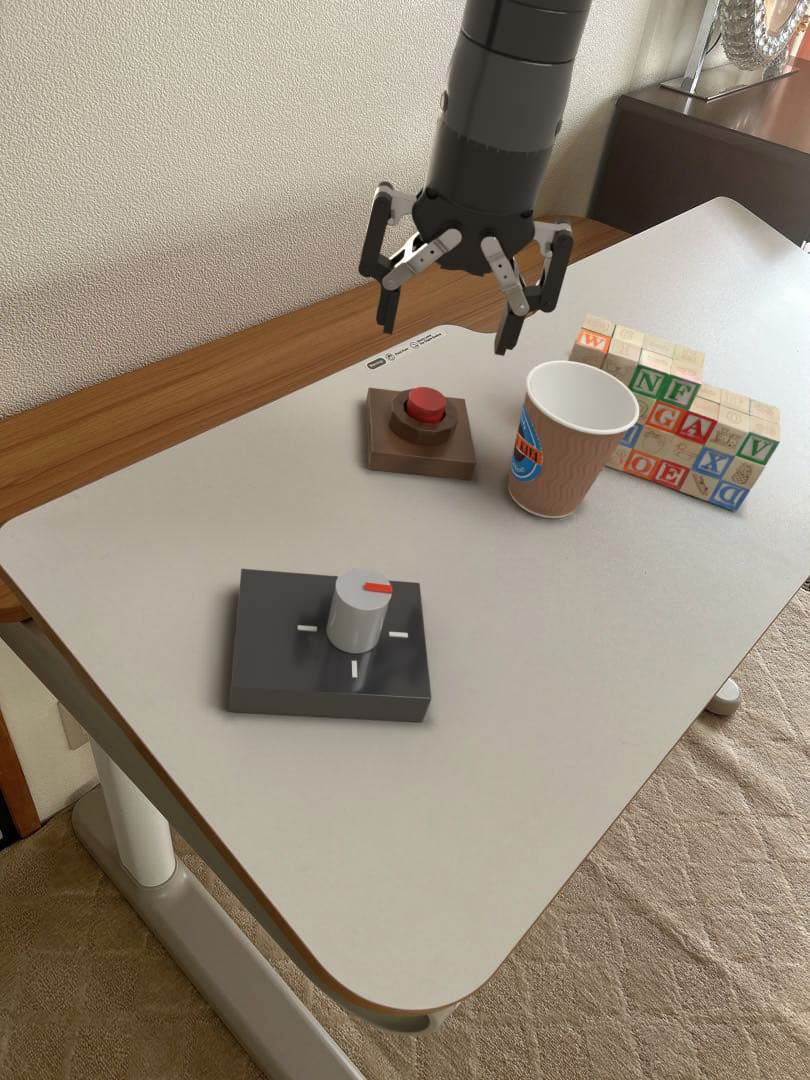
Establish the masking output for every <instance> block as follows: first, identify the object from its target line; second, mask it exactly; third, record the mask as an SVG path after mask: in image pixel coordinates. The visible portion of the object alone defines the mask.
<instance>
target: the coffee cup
mask: <svg viewBox="0 0 810 1080" xmlns="http://www.w3.org/2000/svg"><path fill="white" fill-rule="evenodd" d="M525 389H526V392H525V396H524V402H523V403H522V404H523V405H522V410H521V415H520V419H519V424H518V426H517V427H518V428H517V431H516V437H515V441H514V446H513V450H512V456H511V459H510V468H509V472H508V492H509V495H510V496H511V498H512V500H513V502H515V503H516V504H517V505H518V506H519V507H520V508H521V509H523V510H525V511H526V512H528V513H529V514H532V515H534V516H537V517H541V518H545V519H561V518H565V517H567V516H569V515H571V514H572V513H573V512H574V511H575V510H576V509H577V507H579V506H580V504H581V503H582V502H583V500H584V498H585V497H586V495H587V494H588V493H589V491H590V490H591V488H592V486H593V484H594V483H595V481H596V480H597V479H598V477H599V476H600V474H601V472H602V471H603V469H604V468H605V466H606V465H605V464H606V463H607V461H608V460H609V458H610V457H611V455H612V454H613V452H614V451H615V449H616V447H617V446H618V444H619V443H620V441H621V440H622V438H623V437H624V435H625V433H626V432H627V430H628V429H629V428H631V427H632V426H633V425H634V424H635V423H636V421H637V420H638V417H639V405H638V402H637V400H636V398H635V396H634V395H633V393H632V392H631V391H630V390H629V389H628V387H626V386H625V385H624V384H623V383H622V382H621V381H619V380H618V379H617V378H615V377H614V376H612V375H610V374H608V373H607V372H605V371H603V370H600V369H598V368H596V367H593V366H590V365H587V364H583V363H579V362H573V361H568V360H551V361H546V362H543V363H539V364H537V365H536V366H535V367H533V368H532V369H531V370H530V371H529V372H528V374H527V375H526V378H525ZM633 416H634V417H633Z"/></svg>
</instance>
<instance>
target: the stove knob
mask: <svg viewBox="0 0 810 1080" xmlns="http://www.w3.org/2000/svg"><path fill="white" fill-rule="evenodd" d="M337 576H338V578H337V580H336V584H335V589H334V594H333V598H332V603H331V608H330V613H329V617H328V622H327V627H326V632H327V636H328V638H329V640H330V641H331V643H332V644H333V645H334V646H336V647H337V648H338V649H340V650H342V651H345V652H348V653H364V652H367V651H369V650H371V649H372V648H374V647H375V646H376V644H377V643H378V641H379V638H380V634H381V631H382V627H383V624H384V620H385V616H386V613H387V609H388V606H389V602H390V599H391V595H392V586H391V585H390V583H389V581H388V580H389V579H388V578H387V577H386V576H385V575H384V574H382V573H381V572H380V571H378V570H376V569H373V568H371V567H366V566H354V567H349V568H347V569H345V570H344V571H342V572H340V574H339V575H337Z"/></svg>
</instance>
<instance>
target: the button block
mask: <svg viewBox="0 0 810 1080" xmlns="http://www.w3.org/2000/svg"><path fill="white" fill-rule="evenodd" d="M415 388H416V387H414V388H413V387H412V388H410V389H405V390H392V389H385V388H378V387H377V388H376V387H368V390H367V393H366V399H365V403H364V408H365V426H366V427H365V428H366V442H367V461H368V462H367V463H368V470H372V471H381V472H382V471H383V472H391V473H399V474H400V473H401V474H409V475H410V474H411V475H420V476H430V477H440V478H449V479H459V480H467V481H472V478H473V475H474V472H475V469H476V466H477V464H478V462H477V458H476V457H477V456H476V451H475V447H474V442H473V436H472V435H473V434H472V431H471V424H470V419H469V414H468V409H467V404H466V398H459V397H450V396H444V397H445V399H446V406H445V409H444V413H443V416H442V419H441V420H440V421H439V422H437V423H433V424H432V423H424V422H419V421H417V420H415V419H413V418H411V417H410V416H409V415H408V414H407V412H406V406H407V402H408V398H409V394H410V392H411V391H412V390H413V389H415Z"/></svg>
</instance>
